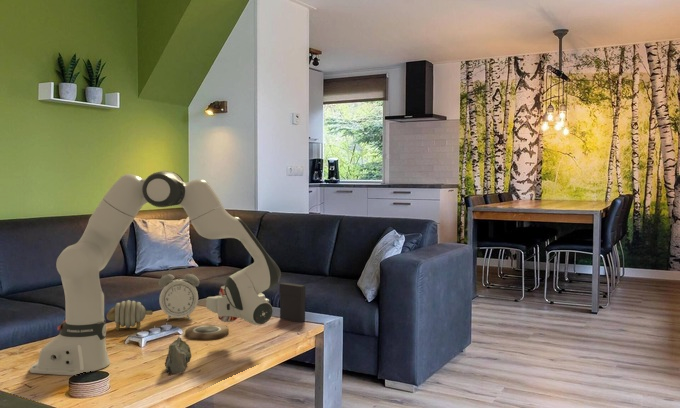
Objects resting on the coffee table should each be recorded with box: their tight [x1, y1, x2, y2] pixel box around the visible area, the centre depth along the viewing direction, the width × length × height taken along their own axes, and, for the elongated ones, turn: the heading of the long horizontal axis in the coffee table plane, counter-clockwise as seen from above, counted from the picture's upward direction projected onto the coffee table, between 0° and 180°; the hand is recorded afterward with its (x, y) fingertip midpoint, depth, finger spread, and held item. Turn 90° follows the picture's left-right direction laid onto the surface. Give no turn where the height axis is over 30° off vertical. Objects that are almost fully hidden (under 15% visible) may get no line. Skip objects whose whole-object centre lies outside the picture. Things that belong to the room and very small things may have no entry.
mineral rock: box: [164, 336, 192, 375], centre depth 183 cm, size 13×11×10 cm
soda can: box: [217, 284, 238, 323], centre depth 208 cm, size 7×7×12 cm
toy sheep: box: [105, 299, 154, 332], centre depth 227 cm, size 11×17×11 cm, turn 110°
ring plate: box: [184, 324, 230, 341], centre depth 221 cm, size 16×16×2 cm
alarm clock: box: [157, 266, 200, 322], centre depth 242 cm, size 16×9×22 cm, turn 104°
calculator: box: [279, 282, 306, 323], centre depth 244 cm, size 11×4×15 cm, turn 58°
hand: (228, 296), depth 208 cm, fingers closed on soda can, 7 cm apart
